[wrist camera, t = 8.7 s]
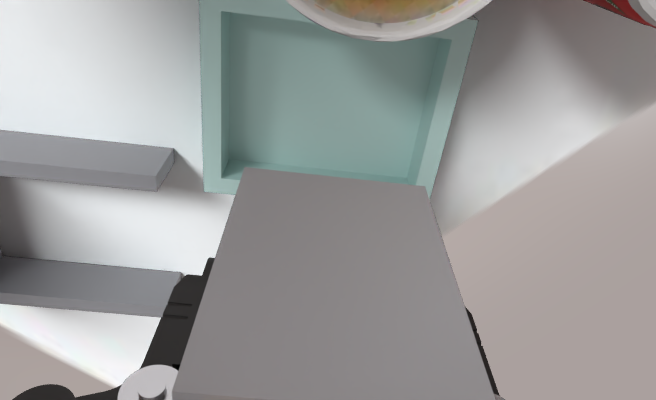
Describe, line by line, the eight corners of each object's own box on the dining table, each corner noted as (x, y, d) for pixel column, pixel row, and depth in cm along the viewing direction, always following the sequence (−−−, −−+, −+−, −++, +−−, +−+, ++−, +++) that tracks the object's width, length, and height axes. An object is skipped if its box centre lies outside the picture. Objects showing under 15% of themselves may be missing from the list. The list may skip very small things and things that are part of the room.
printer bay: (-56, 124, 28) (-140, 172, 23) (173, 148, 29) (140, 200, 24) (-9, 265, 34) (-68, 328, 29) (181, 282, 35) (156, 347, 30)
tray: (212, -24, 24) (198, -15, 22) (463, 8, 25) (478, 20, 22) (214, 167, 30) (203, 191, 27) (417, 188, 31) (425, 214, 28)
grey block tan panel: (244, 167, 13) (161, 422, 7) (424, 186, 13) (511, 449, 7) (239, 322, 16) (180, 596, 10) (385, 335, 16) (419, 609, 10)
